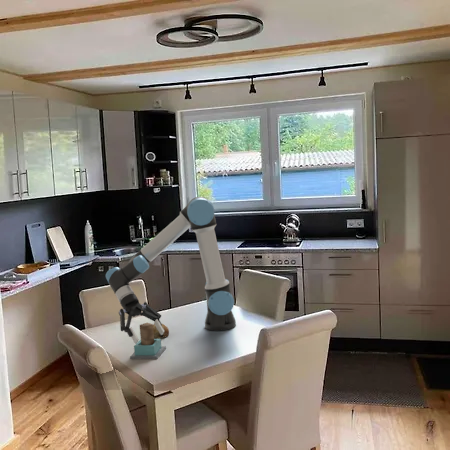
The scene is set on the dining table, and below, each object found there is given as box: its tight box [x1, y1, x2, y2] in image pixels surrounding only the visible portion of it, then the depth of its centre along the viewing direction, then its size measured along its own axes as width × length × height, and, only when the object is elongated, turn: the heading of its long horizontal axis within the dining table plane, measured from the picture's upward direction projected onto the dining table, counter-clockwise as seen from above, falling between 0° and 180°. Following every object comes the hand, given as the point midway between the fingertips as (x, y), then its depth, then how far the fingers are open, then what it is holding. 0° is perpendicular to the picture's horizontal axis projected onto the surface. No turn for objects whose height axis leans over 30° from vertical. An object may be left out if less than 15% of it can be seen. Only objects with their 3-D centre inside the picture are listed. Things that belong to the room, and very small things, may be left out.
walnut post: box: [139, 322, 154, 345], centre depth 223 cm, size 4×4×12 cm
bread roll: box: [152, 322, 170, 339], centre depth 247 cm, size 10×10×8 cm
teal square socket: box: [129, 338, 167, 360], centre depth 223 cm, size 12×12×5 cm
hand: (150, 337), depth 221 cm, fingers open, 13 cm apart
